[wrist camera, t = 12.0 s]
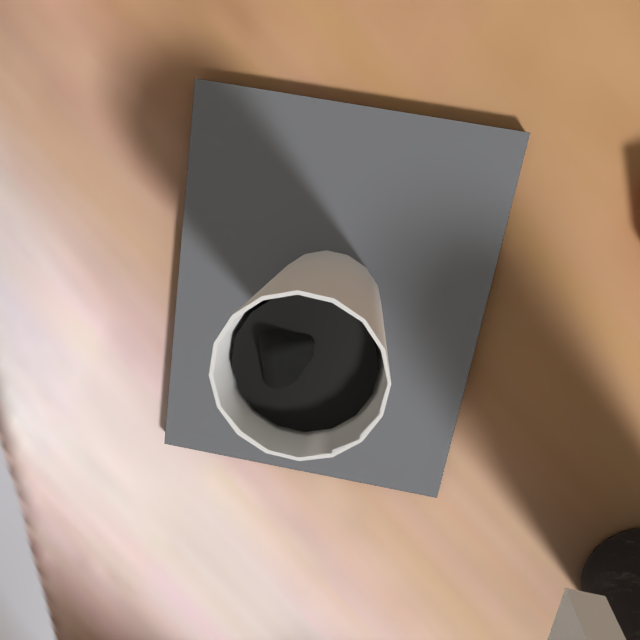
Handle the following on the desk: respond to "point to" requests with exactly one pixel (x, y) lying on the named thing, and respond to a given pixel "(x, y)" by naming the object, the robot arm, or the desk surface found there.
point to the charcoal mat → (346, 238)
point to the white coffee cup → (305, 360)
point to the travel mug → (618, 578)
